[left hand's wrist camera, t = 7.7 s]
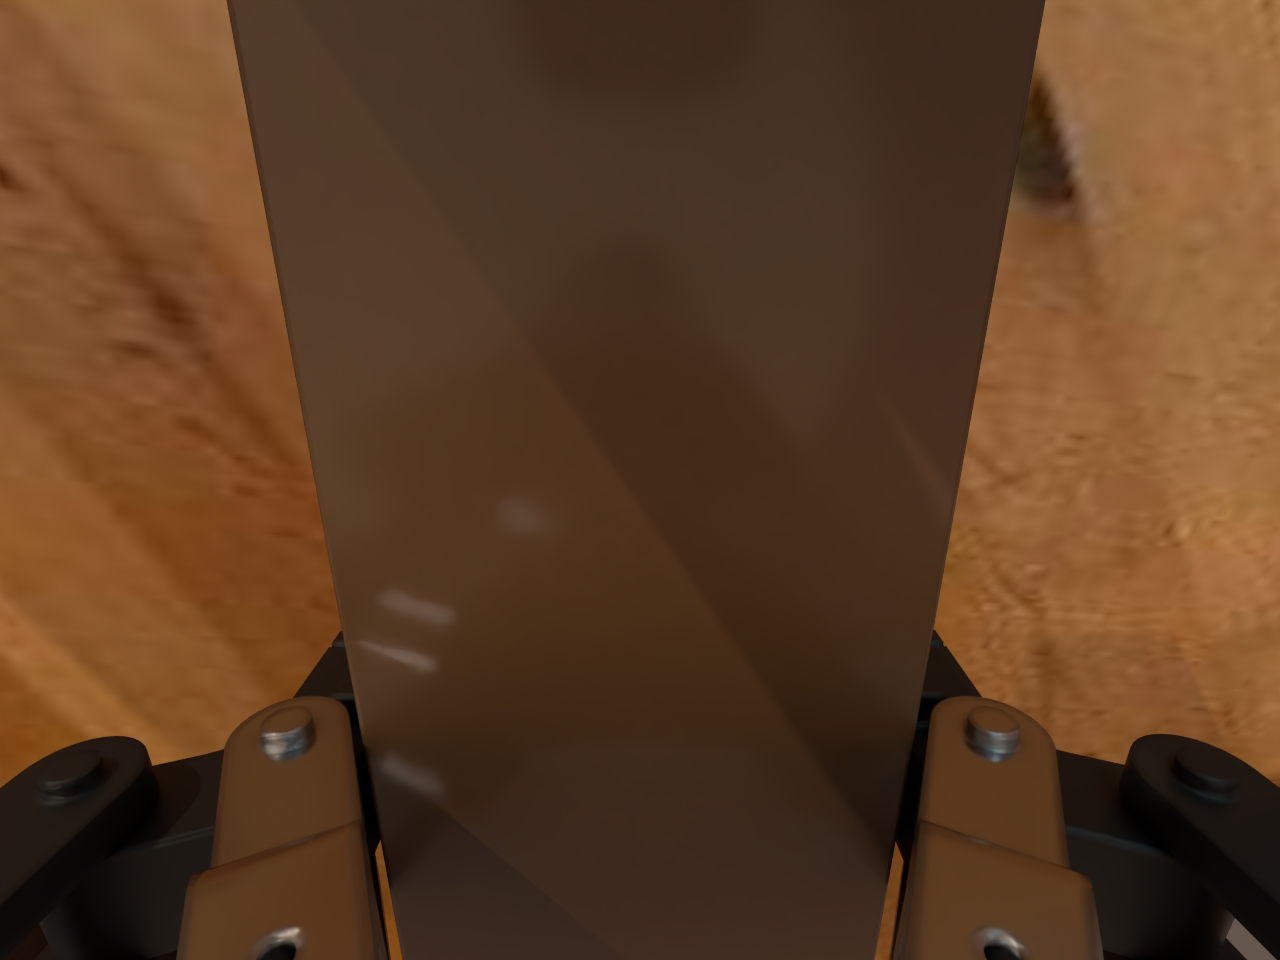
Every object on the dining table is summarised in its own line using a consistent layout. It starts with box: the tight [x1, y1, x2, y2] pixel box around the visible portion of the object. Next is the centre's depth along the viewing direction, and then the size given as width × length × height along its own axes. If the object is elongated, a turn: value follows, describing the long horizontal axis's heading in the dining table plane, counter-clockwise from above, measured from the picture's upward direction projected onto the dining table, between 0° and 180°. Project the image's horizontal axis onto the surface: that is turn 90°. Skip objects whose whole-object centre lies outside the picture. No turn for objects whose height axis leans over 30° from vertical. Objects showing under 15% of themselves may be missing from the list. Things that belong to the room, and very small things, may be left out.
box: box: [227, 0, 1045, 960], centre depth 9 cm, size 22×6×9 cm, turn 0°
